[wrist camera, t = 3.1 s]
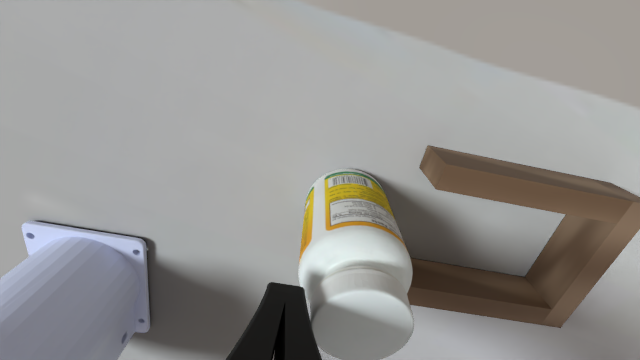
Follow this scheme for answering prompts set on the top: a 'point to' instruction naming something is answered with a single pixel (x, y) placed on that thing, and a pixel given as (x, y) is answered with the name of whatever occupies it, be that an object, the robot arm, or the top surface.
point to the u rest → (555, 259)
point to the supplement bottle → (355, 268)
